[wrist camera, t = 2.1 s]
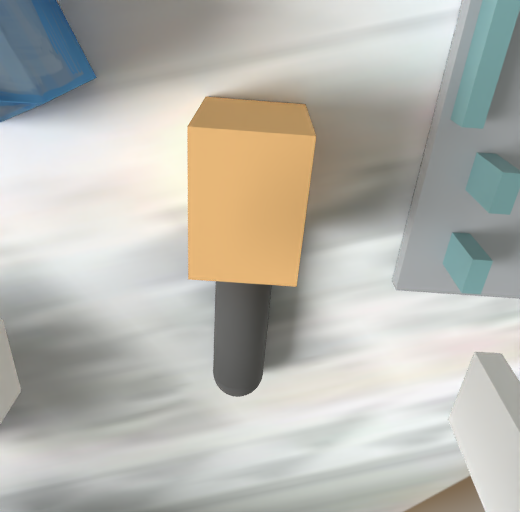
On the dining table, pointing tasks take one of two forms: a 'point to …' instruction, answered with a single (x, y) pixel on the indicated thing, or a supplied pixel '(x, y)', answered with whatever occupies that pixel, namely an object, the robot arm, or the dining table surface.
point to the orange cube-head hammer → (246, 220)
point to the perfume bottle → (37, 56)
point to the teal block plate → (470, 166)
